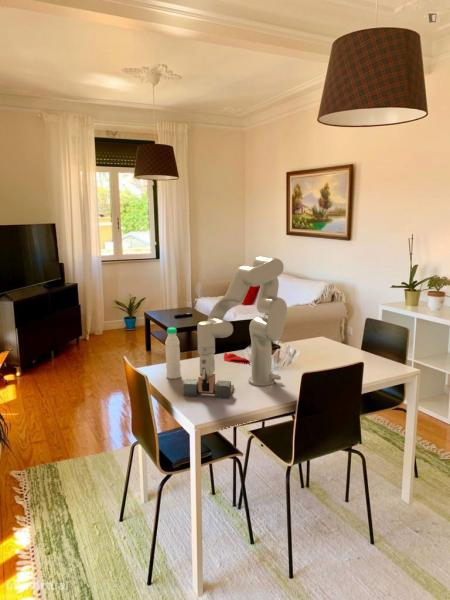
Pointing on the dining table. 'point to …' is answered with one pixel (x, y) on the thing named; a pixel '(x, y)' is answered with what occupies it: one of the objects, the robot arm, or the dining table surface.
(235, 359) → the cloth
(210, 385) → the block
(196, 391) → the gray dumbbell
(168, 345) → the water bottle
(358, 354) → the dining table surface
